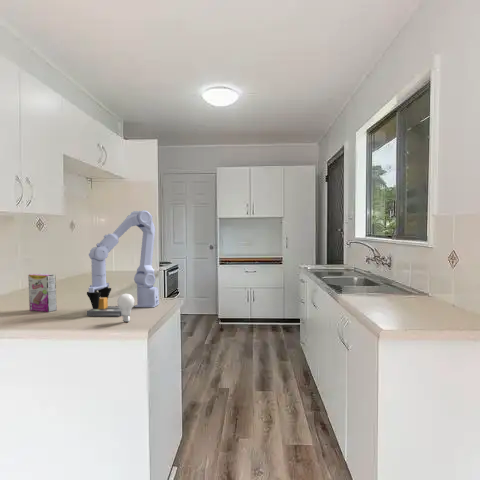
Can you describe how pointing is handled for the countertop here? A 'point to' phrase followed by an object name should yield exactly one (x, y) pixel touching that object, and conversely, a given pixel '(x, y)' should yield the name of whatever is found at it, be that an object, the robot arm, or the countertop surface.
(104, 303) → the knob
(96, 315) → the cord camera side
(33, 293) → the candy bar box
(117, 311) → the breaker panel
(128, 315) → the lightbulb
